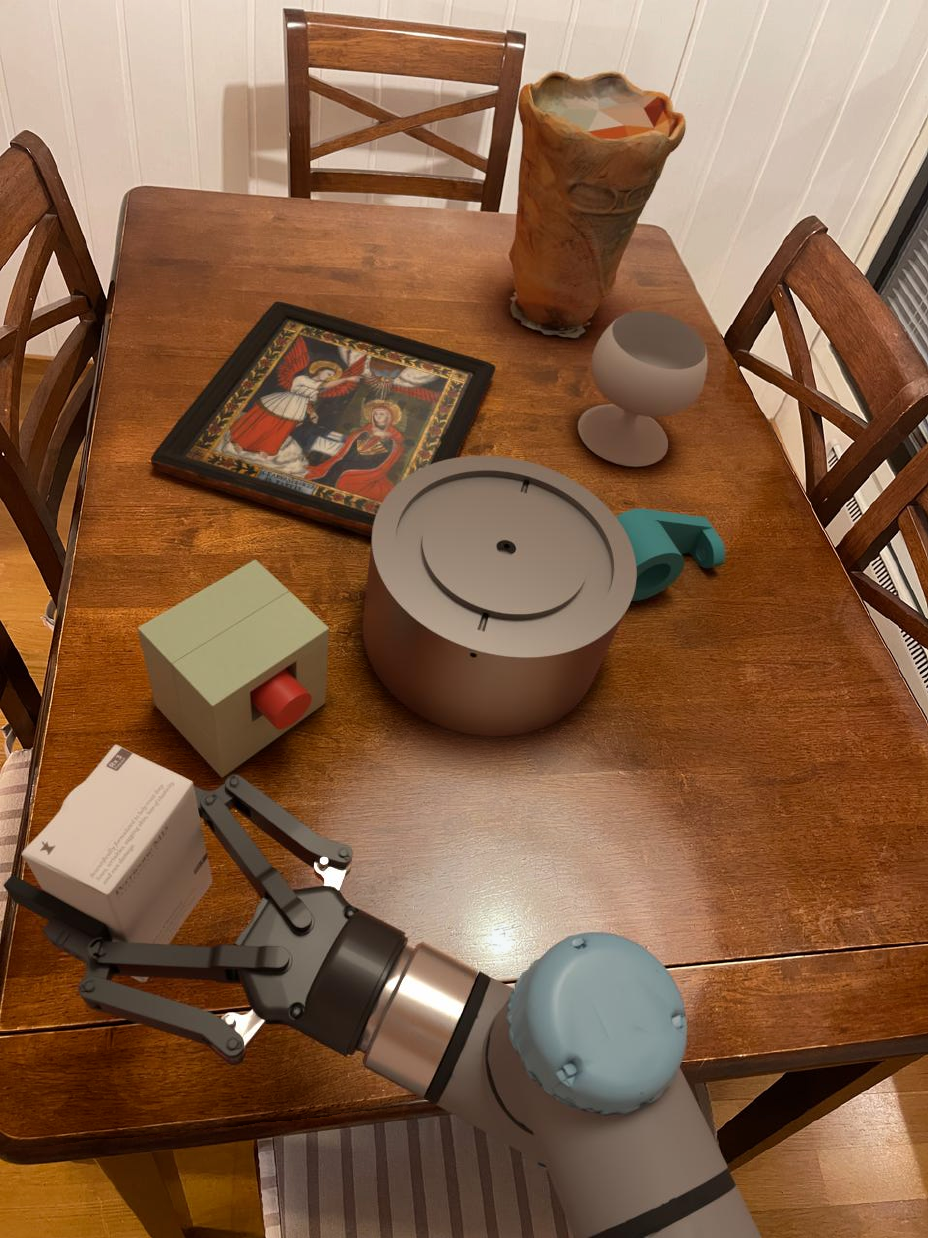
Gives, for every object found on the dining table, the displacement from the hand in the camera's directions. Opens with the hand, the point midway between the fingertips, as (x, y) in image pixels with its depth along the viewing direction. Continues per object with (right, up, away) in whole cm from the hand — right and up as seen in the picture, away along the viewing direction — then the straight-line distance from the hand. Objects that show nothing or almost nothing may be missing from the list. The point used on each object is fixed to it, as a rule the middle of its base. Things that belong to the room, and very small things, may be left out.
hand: (64, 827), depth 55 cm
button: (+9, +6, +21) cm, 24 cm away
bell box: (+4, +5, +28) cm, 28 cm away
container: (+27, +12, +37) cm, 48 cm away
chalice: (+46, +37, +61) cm, 85 cm away
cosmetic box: (+3, -7, +6) cm, 10 cm away
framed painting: (+9, +37, +54) cm, 66 cm away
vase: (+38, +60, +77) cm, 105 cm away
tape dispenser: (+47, +18, +47) cm, 69 cm away
